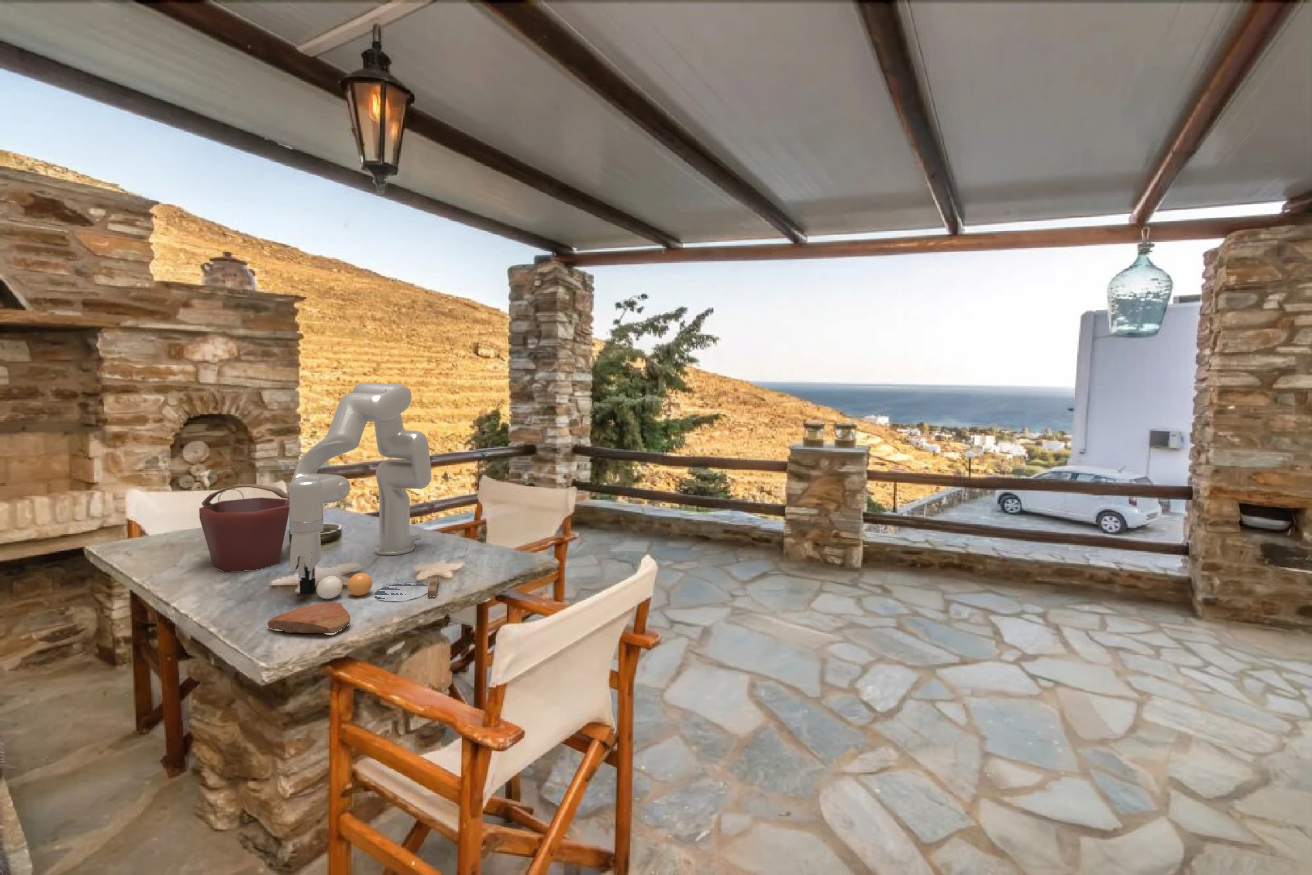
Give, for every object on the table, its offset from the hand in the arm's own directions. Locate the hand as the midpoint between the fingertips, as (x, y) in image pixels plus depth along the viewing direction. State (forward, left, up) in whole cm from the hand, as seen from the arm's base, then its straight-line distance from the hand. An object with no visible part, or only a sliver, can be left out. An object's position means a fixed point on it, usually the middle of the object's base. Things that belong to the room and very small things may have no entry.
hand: (307, 593), depth 145 cm
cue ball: (-3, +4, +2) cm, 6 cm away
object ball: (-9, +9, +2) cm, 13 cm away
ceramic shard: (+10, +19, -2) cm, 21 cm away
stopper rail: (-22, +22, -2) cm, 31 cm away
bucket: (-6, -41, -2) cm, 42 cm away
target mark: (-16, +16, -2) cm, 23 cm away
